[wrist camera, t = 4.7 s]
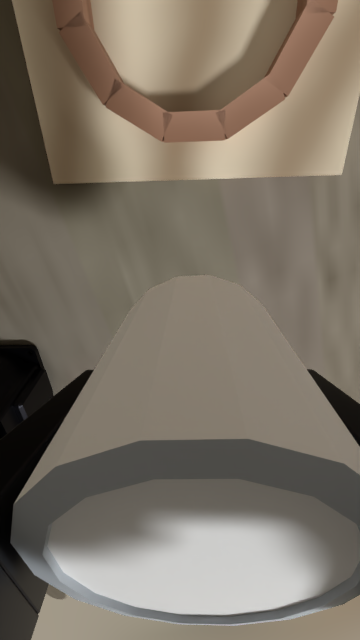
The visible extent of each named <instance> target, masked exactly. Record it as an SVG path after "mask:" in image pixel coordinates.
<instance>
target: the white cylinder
mask: <svg viewBox="0 0 360 640" xmlns="http://www.w3.org/2000/svg"><path fill="white" fill-rule="evenodd" d="M10 543H11V544H12V546H13V547H14V548H15V550H16V551H17V552H18V554H19V555H20V556H21V558H22V559H23V560H24V562H25V563H26V564H27V566H28V567H29V568H30V570H31V571H32V572H33V574H34V575H35V576H37V577H39V578H40V579H42V580H44V581H45V582H47V583H49V584H50V585H52V586H54V587H55V588H57V589H59V590H60V591H62V592H64V593H65V594H67V595H69V596H70V597H72V598H74V599H76V600H79V601H82V602H85V603H88V604H91V605H94V606H97V607H100V608H103V609H106V610H109V611H112V612H115V613H119V614H121V615H124V616H131V617H137V618H143V619H149V620H155V621H162V622H169V623H174V624H189V625H230V626H236V625H245V624H253V623H262V622H271V621H280V620H289V619H293V618H297V617H301V616H304V615H308V614H311V613H315V612H318V611H321V610H325V609H328V608H332V607H335V606H339V605H342V604H344V603H346V602H348V601H350V600H351V599H353V598H355V597H357V596H358V595H360V446H359V445H358V444H357V442H356V441H355V439H354V438H353V436H352V435H351V433H350V432H349V430H348V429H347V428H346V426H345V425H344V423H343V422H342V420H341V419H340V417H339V416H338V414H337V413H336V411H335V410H334V409H333V407H332V406H331V404H330V403H329V401H328V400H327V398H326V397H325V395H324V394H323V393H322V391H321V390H320V388H319V387H318V385H317V384H316V382H315V381H314V379H313V378H312V376H311V375H310V374H309V372H308V371H307V369H306V368H305V366H304V365H303V363H302V362H301V360H300V359H299V358H298V356H297V355H296V353H295V352H294V350H293V349H292V347H291V346H290V344H289V343H288V341H287V340H286V339H285V337H284V336H283V334H282V333H281V331H280V330H279V328H278V327H277V325H276V324H275V323H274V321H273V320H272V318H271V317H270V315H269V314H268V312H267V311H266V309H265V308H264V306H263V305H262V304H261V303H260V302H259V301H258V300H257V299H256V298H254V297H253V296H252V295H251V294H250V293H249V292H248V291H247V290H245V289H244V288H243V287H242V286H241V285H239V284H236V283H233V282H230V281H227V280H224V279H221V278H218V277H215V276H212V275H195V276H177V277H175V278H172V279H170V280H168V281H166V282H164V283H161V284H159V285H157V286H155V287H153V288H150V289H148V291H147V292H146V293H145V294H144V295H143V296H142V297H141V298H140V299H139V301H138V302H137V303H136V304H135V305H134V306H133V307H132V308H131V309H130V311H129V312H128V314H127V316H126V317H125V319H124V321H123V322H122V324H121V326H120V327H119V329H118V331H117V332H116V334H115V336H114V337H113V339H112V341H111V342H110V344H109V346H108V347H107V349H106V351H105V352H104V354H103V356H102V357H101V359H100V361H99V362H98V364H97V366H96V367H95V369H94V371H93V372H92V374H91V376H90V377H89V379H88V381H87V382H86V384H85V386H84V387H83V389H82V391H81V392H80V394H79V396H78V397H77V399H76V401H75V403H74V404H73V406H72V408H71V409H70V411H69V413H68V414H67V416H66V418H65V419H64V421H63V423H62V424H61V426H60V428H59V429H58V431H57V433H56V434H55V436H54V438H53V439H52V441H51V443H50V444H49V446H48V448H47V449H46V451H45V453H44V454H43V456H42V458H41V459H40V461H39V463H38V464H37V466H36V468H35V469H34V471H33V473H32V474H31V476H30V478H29V479H28V481H27V483H26V484H25V486H24V488H23V489H22V491H21V493H20V494H19V496H18V498H17V499H16V501H15V503H14V504H13V516H12V528H11V541H10Z"/></svg>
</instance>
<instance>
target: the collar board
mask: <svg viewBox="0 0 360 640" xmlns="http://www.w3.org/2000/svg"><path fill="white" fill-rule="evenodd" d="M12 3H13V8H14V12H15V16H16V21H17V25H18V30H19V34H20V38H21V43H22V47H23V52H24V56H25V60H26V65H27V69H28V73H29V78H30V82H31V87H32V91H33V95H34V100H35V104H36V109H37V113H38V117H39V122H40V126H41V131H42V135H43V139H44V144H45V148H46V152H47V157H48V161H49V166H50V170H51V174H52V179H53V183H54V184H69V183H100V182H132V181H163V180H194V179H225V178H256V177H287V176H318V175H342V171H343V166H344V162H345V157H346V153H347V148H348V144H349V139H350V135H351V130H352V126H353V121H354V117H355V112H356V108H357V103H358V99H359V94H360V0H12Z"/></svg>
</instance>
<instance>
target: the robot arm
mask: <svg viewBox="0 0 360 640" xmlns="http://www.w3.org/2000/svg"><path fill="white" fill-rule="evenodd" d="M30 351H31V352H32V353H31V352H30ZM93 371H94V370H86V371H85V372H83V373H82V374H81V375H80V376H78V377H77V378H76V379H75V380H73V381H72V382H71V383H70V384H68V385H67V386H66V387H65V388H63V389H62V390H61V391H60V392H58V393H57V394H56V395H55V396H53V393H52V392H53V390H52V387H51V384H50V381H49V379H48V376H47V373H46V370H45V369H44V366H43V363H42V360H41V358H40V355H39V352H38V349H37V348H36V347H35V346H32V345H0V640H31V638H32V634H33V631H34V628H35V625H36V622H37V619H38V613H39V612H40V609H41V606H42V603H43V600H44V597H45V594H46V591H47V588H48V584H49V583H47V582H45V581H44V580H42V579H40V578H39V577H37V576H35V575H34V574H33V572H32V571H31V570H30V568H29V567H28V566H27V564H26V563H25V562H24V560H23V559H22V558H21V556H20V555H19V554H18V552H17V551H16V550H15V548H14V547H13V546H12V544H11V543H10V541H11V528H12V516H13V504H14V503H15V501H16V499H17V498H18V496H19V494H20V493H21V491H22V489H23V488H24V486H25V484H26V483H27V481H28V479H29V478H30V476H31V474H32V473H33V471H34V469H35V468H36V466H37V464H38V463H39V461H40V459H41V458H42V456H43V454H44V453H45V451H46V449H47V448H48V446H49V444H50V443H51V441H52V439H53V438H54V436H55V434H56V433H57V431H58V429H59V428H60V426H61V424H62V423H63V421H64V419H65V418H66V416H67V414H68V413H69V411H70V409H71V408H72V406H73V404H74V403H75V401H76V399H77V397H78V396H79V394H80V392H81V391H82V389H83V387H84V386H85V384H86V382H87V381H88V379H89V377H90V376H91V374H92V372H93ZM307 371H308V372H309V374H310V375H311V376H312V378H313V379H314V381H315V382H316V384H317V385H318V387H319V388H320V390H321V391H322V393H323V394H324V395H325V397H326V398H327V400H328V401H329V403H330V404H331V406H332V407H333V409H334V410H335V411H336V413H337V414H338V416H339V417H340V419H341V420H342V422H343V423H344V425H345V426H346V428H347V429H348V430H349V432H350V433H351V435H352V436H353V438H354V439H355V441H356V442H357V444H358V445H359V446H360V404H359V403H358V402H356V401H355V400H353V399H352V398H351V397H349V396H348V395H347V394H345V393H344V392H343V391H341V390H340V389H339V388H337V387H336V386H334V385H333V384H332V383H330V382H329V381H328V380H326V379H325V378H324V377H322V376H321V375H319V374H318V373H317V372H315V371H314V370H311V369H307Z"/></svg>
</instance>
